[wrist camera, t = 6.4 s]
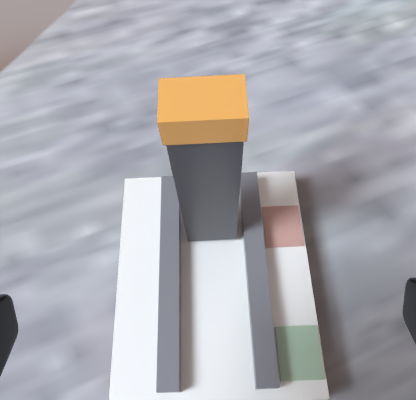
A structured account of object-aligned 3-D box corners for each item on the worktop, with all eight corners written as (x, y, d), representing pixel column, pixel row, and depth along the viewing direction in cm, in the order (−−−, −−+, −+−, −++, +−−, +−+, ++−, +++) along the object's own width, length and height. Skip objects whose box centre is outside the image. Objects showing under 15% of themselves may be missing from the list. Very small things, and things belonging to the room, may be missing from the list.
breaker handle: (238, 241, 21) (249, 118, 12) (185, 243, 21) (157, 122, 12) (235, 210, 22) (244, 74, 13) (185, 212, 22) (158, 78, 13)
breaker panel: (321, 399, 19) (334, 398, 17) (116, 407, 19) (103, 407, 17) (290, 183, 25) (296, 162, 23) (130, 191, 25) (121, 171, 23)
